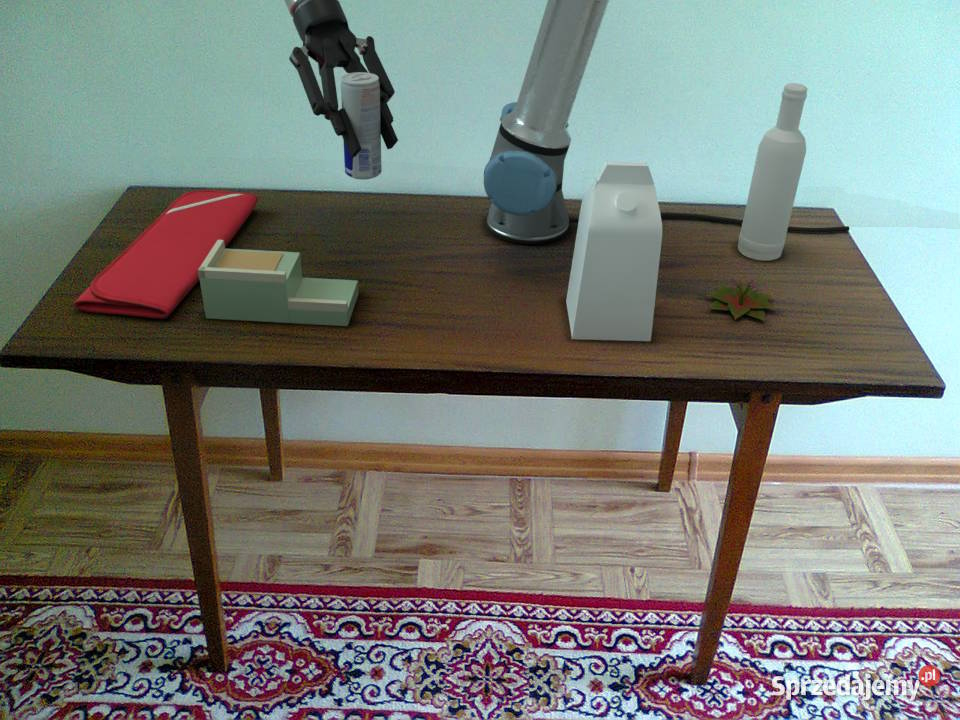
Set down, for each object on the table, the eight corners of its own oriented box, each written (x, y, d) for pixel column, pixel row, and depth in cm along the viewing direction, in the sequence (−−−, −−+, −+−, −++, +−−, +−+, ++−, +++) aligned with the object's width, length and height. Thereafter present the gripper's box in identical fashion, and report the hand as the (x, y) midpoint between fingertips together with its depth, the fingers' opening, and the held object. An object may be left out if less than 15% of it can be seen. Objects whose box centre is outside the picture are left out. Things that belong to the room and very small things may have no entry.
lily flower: (782, 296, 152) (788, 272, 149) (772, 331, 143) (779, 306, 140) (709, 281, 155) (714, 257, 153) (696, 314, 146) (700, 289, 144)
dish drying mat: (73, 311, 141) (67, 290, 139) (183, 203, 175) (180, 185, 173) (170, 322, 139) (166, 301, 137) (262, 210, 173) (260, 192, 171)
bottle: (736, 258, 163) (771, 90, 146) (736, 238, 169) (770, 76, 152) (782, 264, 161) (823, 96, 145) (781, 244, 168) (820, 81, 151)
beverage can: (384, 168, 143) (382, 72, 134) (377, 182, 138) (375, 84, 130) (349, 165, 143) (345, 69, 135) (341, 179, 139) (336, 81, 130)
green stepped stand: (358, 293, 148) (356, 246, 144) (347, 326, 140) (344, 277, 135) (224, 286, 149) (217, 239, 144) (205, 318, 141) (197, 269, 136)
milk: (639, 302, 149) (662, 149, 134) (650, 341, 139) (676, 181, 125) (566, 300, 148) (580, 147, 134) (572, 339, 139) (588, 178, 124)
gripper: (360, 16, 145) (417, 148, 143) (251, 31, 135) (311, 172, 134) (377, -13, 138) (437, 125, 137) (263, 1, 129) (326, 149, 127)
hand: (374, 148), depth 135 cm, fingers closed on beverage can, 6 cm apart
